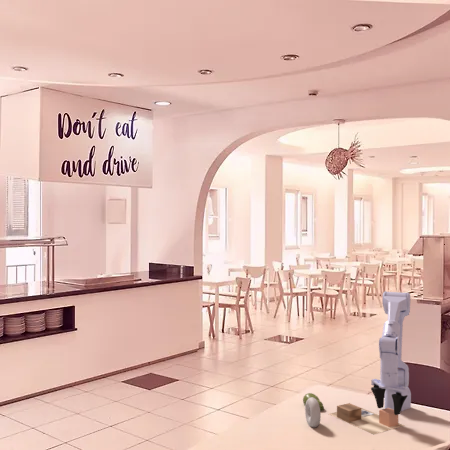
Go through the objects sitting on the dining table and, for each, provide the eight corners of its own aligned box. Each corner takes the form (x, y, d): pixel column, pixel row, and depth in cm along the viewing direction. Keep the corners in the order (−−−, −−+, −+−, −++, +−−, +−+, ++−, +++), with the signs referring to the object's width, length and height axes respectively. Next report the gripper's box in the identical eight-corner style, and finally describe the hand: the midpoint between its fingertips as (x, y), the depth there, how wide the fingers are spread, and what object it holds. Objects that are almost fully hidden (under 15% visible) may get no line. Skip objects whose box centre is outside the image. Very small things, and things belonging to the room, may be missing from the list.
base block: (349, 414, 202) (349, 403, 202) (361, 419, 196) (361, 407, 196) (336, 417, 199) (336, 405, 198) (348, 422, 193) (348, 411, 193)
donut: (322, 432, 187) (322, 402, 187) (312, 432, 186) (312, 403, 186) (313, 421, 197) (313, 393, 197) (303, 421, 196) (303, 393, 196)
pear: (313, 390, 214) (328, 402, 206) (311, 402, 215) (326, 415, 206) (300, 391, 212) (315, 404, 203) (299, 404, 213) (314, 417, 204)
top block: (388, 420, 195) (388, 407, 195) (398, 424, 191) (398, 411, 191) (379, 422, 193) (379, 410, 193) (389, 427, 189) (389, 413, 189)
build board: (358, 408, 209) (358, 406, 209) (404, 427, 191) (404, 425, 191) (328, 416, 202) (328, 413, 202) (373, 436, 183) (373, 433, 183)
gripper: (365, 368, 196) (364, 406, 196) (397, 378, 184) (397, 419, 184) (379, 365, 200) (379, 403, 200) (411, 375, 187) (411, 415, 187)
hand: (388, 410), depth 192 cm, fingers open, 7 cm apart
